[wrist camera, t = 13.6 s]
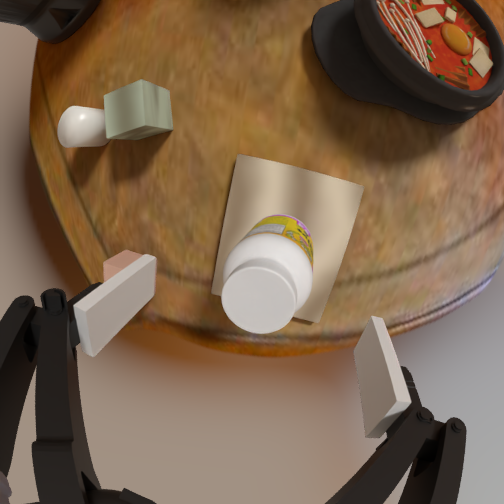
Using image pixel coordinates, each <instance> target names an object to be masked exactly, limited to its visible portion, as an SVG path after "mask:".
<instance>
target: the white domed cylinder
mask: <svg viewBox="0 0 504 504" xmlns="http://www.w3.org/2000/svg"><path fill="white" fill-rule="evenodd" d="M58 138H59V141H60V143H61V144H62V145H63V146H64V147H94V146H104V145H106V144H107V143H108V142H109V141H110V140H111V139H107V136H106V124H105V110H102V109H95V108H88V107H79V106H71V107H69V108H68V109H67V110H66V111H65V112H64V113H63V115H62V116H61V118H60V121H59V124H58Z"/></svg>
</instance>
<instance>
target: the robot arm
mask: <svg viewBox="0 0 504 504" xmlns="http://www.w3.org/2000/svg"><path fill="white" fill-rule="evenodd" d="M99 2H100V0H0V22H5V23H10V24H16V25H20V26H24V27H26V28H27V29H28V30H29V31H30V32H32V33H33V34H34V35H35V36H37V37H38V38H39V39H40V40H42V41H44V42H48V43H52V44H55V43H59V42H61V41H63V40H65V39H67V38H68V37H69V36H71V35H72V34H73V33H74V32H75V31H76V30H78V29H79V28H80V27H81V26H82V24H83V23H84V22H85V21H86V20H87V19H88V18H89V16H90V15H91V14H92V12H93V11H94V10H95V8H96V7H97V5H98V3H99ZM155 267H156V257H154V256H151V255H148V254H145V255H143V256H142V257H140V258H139V259H137V260H136V261H134V262H133V263H131V264H130V265H129V266H127V267H126V268H124V269H123V270H121V271H120V272H118V273H117V274H116V275H114V276H113V277H111V278H110V279H109V280H107V281H106V282H104V283H101V282H98V283H95V284H92V285H90V286H89V287H88V288H86V289H85V290H83V291H82V292H80V294H78V295H76V296H75V297H74V298H72V299H71V300H69V301H68V302H67V300H66V294H65V292H64V291H63V290H61V289H56V288H53V289H48V290H46V291H44V292H43V293H42V294H41V296H40V297H41V302H42V306H43V308H41V307H37V306H35V303H34V300H33V298H32V297H30V296H20V297H18V298H16V299H15V300H14V301H13V302H12V304H11V305H10V307H9V308H8V310H7V311H6V313H5V314H4V316H3V318H2V319H1V321H0V504H10V503H9V499H8V497H10V496H11V493H12V491H11V488H10V487H9V483H8V480H7V478H6V477H7V475H8V472H9V469H10V465H11V461H12V456H13V450H14V444H15V439H16V434H17V430H18V426H19V421H20V417H21V413H22V410H23V406H24V402H25V399H26V395H27V392H28V389H29V386H30V382H31V380H32V376H33V373H34V371H35V368H36V365H37V368H36V390H35V392H36V393H35V415H36V435H37V439H36V441H34V442H33V443H32V458H33V467H34V474H35V480H36V485H37V491H38V496H39V501H40V502H35V503H28V504H156V503H155V502H153V501H152V500H150V499H147V498H145V497H142V496H140V495H138V494H136V493H134V492H132V491H130V490H128V489H125V488H124V489H123V490H122V492H121V491H116V490H108V489H101V486H100V483H99V481H98V478H97V476H96V474H95V471H94V469H93V465H92V461H91V457H90V452H89V448H88V443H87V438H86V433H85V427H84V421H83V415H82V407H81V399H80V391H79V380H78V367H77V350H76V345H78V344H79V343H80V344H81V348H82V351H83V352H85V353H87V354H88V355H90V356H92V357H95V355H96V354H97V353H98V352H99V351H100V350H101V349H102V348H103V347H104V346H105V345H106V344H107V343H108V342H109V341H110V340H111V339H112V338H113V337H114V336H115V335H116V334H117V333H118V332H119V331H120V329H121V328H122V327H123V326H124V325H125V324H126V323H127V322H128V321H129V320H130V319H131V318H132V317H133V316H134V315H135V314H136V313H137V312H138V311H139V310H140V309H141V308H142V307H143V306H144V305H145V304H146V303H147V302H148V301H149V300H150V299H151V298H152V297H153V296H154V285H155ZM353 352H354V357H355V364H356V369H357V376H358V382H359V389H360V396H361V403H362V411H363V418H364V428H365V437H368V438H380V437H381V436H382V435H383V434H384V433H385V432H386V433H387V438H386V439H385V440H384V441H383V442H382V443H381V444H380V445H379V446H378V447H377V448H376V451H375V453H374V454H373V455H372V456H371V457H370V458H369V460H368V461H367V462H366V463H365V464H364V465H363V466H362V467H361V468H360V469H359V471H358V472H357V473H356V474H355V475H354V476H353V477H352V478H351V479H350V480H349V481H348V482H347V483H346V484H345V485H344V486H343V487H342V488H341V489H340V490H339V491H338V492H337V493H336V494H335V495H334V496H333V497H332V498H331V499H329V500H328V501H327V502H326V503H325V504H383V503H384V502H385V500H386V499H387V498H388V497H389V495H390V494H391V493H392V491H393V490H394V489H395V487H396V486H397V484H398V483H399V481H400V480H401V479H402V477H403V476H404V474H405V472H406V471H407V469H408V468H409V466H410V465H411V463H412V462H413V463H412V466H411V469H410V473H409V475H408V479H407V481H406V484H405V487H404V490H403V493H402V495H401V497H400V500H399V502H398V504H456V502H457V498H458V493H459V488H460V482H461V477H462V470H463V463H464V454H465V443H466V426H465V424H464V423H463V422H462V421H461V420H460V419H458V418H455V417H453V418H450V419H449V420H448V421H447V422H446V423H442V422H439V421H436V420H434V416H433V414H432V413H431V412H430V411H429V410H428V409H427V408H425V407H422V405H421V402H420V399H419V396H418V393H417V390H416V388H415V384H414V382H413V378H412V375H411V373H410V372H409V371H408V370H407V368H406V367H403V366H400V365H399V362H398V359H397V356H396V353H395V351H394V348H393V345H392V342H391V339H390V337H389V334H388V332H387V329H386V326H385V324H384V321H383V319H382V318H379V317H375V316H371V317H370V319H369V321H368V323H367V326H366V328H365V330H364V332H363V334H362V336H361V338H360V339H359V341H358V343H357V345H356V347H355V349H354V351H353Z"/></svg>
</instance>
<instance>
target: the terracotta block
mask: <svg viewBox="0 0 504 504" xmlns="http://www.w3.org/2000/svg"><path fill="white" fill-rule="evenodd" d="M142 256H143V255H141V254H138V253H135V252H132V251H129V250H124V251H123V252H121V253H119V254H117V255H115V256H114V257H112V258H110V259H108V260H107V261H105V262H104V282H106V281H107V280H109V279H110V278H111V277H113V276H114V275H116V274H117V273H118V272H120V271H121V270H123V269H124V268H126V267H127V266H129V265H130V264H131V263H133V262H134V261H136V260H137V259H139V258H140V257H142ZM156 271H157V259H156V267H155V285H154V294H155V290H156Z"/></svg>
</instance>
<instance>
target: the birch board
mask: <svg viewBox="0 0 504 504" xmlns="http://www.w3.org/2000/svg"><path fill="white" fill-rule="evenodd" d="M363 190H364V186H361V185H358V184H355V183H352V182H348V181H345V180H342V179H338V178H335V177H332V176H328V175H325V174H321V173H317V172H314V171H310V170H306V169H303V168H299V167H295V166H291V165H287V164H283V163H278V162H274V161H270V160H265V159H261V158H256V157H252V156H247V155H242V154H238V155H237V160H236V164H235V169H234V174H233V179H232V184H231V188H230V193H229V198H228V203H227V209H226V214H225V219H224V224H223V229H222V235H221V240H220V245H219V251H218V256H217V262H216V268H215V273H214V279H213V285H212V291H211V293H212V294H215V295H218V296H221V294H222V289H223V286H224V283H223V268H224V264H225V261H226V259H227V257H228V255H229V254H230V252H231V251H232V250H233V248H234V247H235V246H236V245H237V244H238V243H239V242H240V241H241V240H242V239H243V238H244V237H245V235H246V234H247V233H248V232H249V231H250V230H251V229H252V228H253V227H254V226H255V225H256V224H257V223H258V222H259V221H261V220H262V219H264V218H265V217H268V216H271V215H275V214H285V215H289V216H292V217H295V218H296V219H298V220H300V221H301V222H302V223H303V224H304V225H305V226H306V227H307V229H308V230H309V232H310V234H311V236H312V240H313V283H312V289H311V292H310V295H309V297H308V299H307V301H306V302H305V304H304V305H303V306H302V307H301V308H300V309H299V310H298V311H297V312H295V313H294V315H293V317H296V318H300V319H304V320H308V321H312V322H316V323H319V321H320V319H321V316H322V314H323V311H324V308H325V306H326V303H327V301H328V298H329V295H330V293H331V290H332V287H333V285H334V282H335V279H336V276H337V273H338V270H339V268H340V265H341V262H342V259H343V256H344V253H345V250H346V247H347V244H348V241H349V237H350V234H351V231H352V228H353V225H354V221H355V218H356V215H357V211H358V208H359V204H360V201H361V197H362V194H363Z"/></svg>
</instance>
